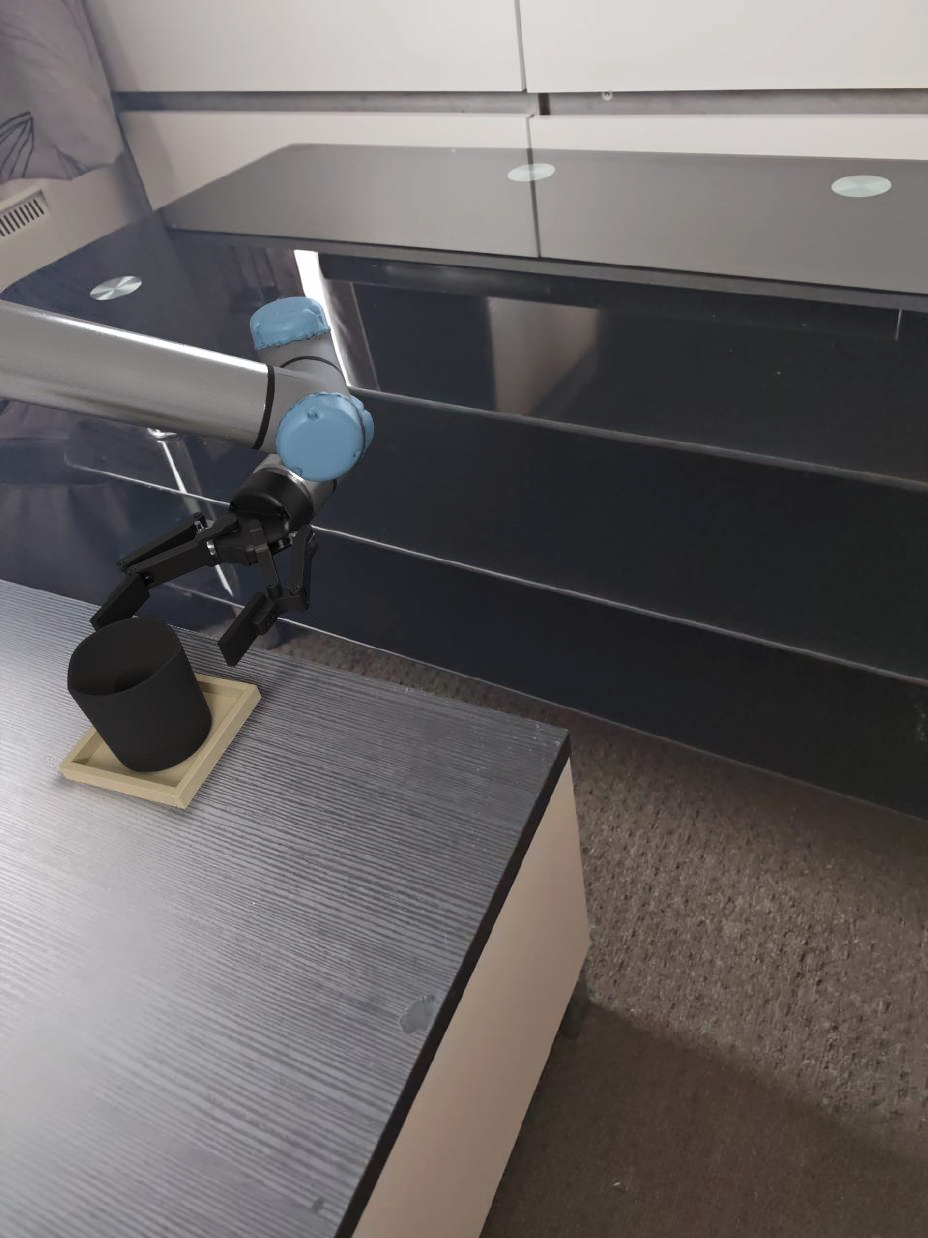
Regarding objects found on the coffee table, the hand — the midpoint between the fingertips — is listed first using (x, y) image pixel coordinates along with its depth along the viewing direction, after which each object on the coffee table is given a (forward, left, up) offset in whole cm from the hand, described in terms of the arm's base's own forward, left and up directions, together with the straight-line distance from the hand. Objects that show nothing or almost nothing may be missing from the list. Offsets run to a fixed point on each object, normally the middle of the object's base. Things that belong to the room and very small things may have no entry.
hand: (160, 643), depth 78 cm
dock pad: (0, -4, -8) cm, 9 cm away
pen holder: (0, -4, -8) cm, 9 cm away
